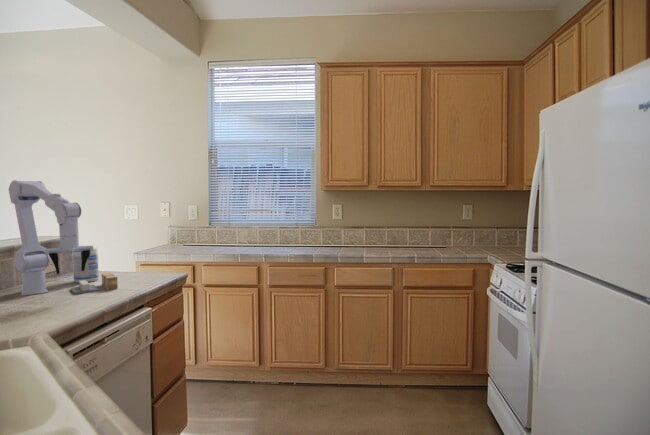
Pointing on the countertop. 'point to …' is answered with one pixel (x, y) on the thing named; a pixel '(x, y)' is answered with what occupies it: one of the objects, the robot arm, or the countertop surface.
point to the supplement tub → (86, 267)
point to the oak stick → (109, 281)
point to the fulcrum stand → (84, 288)
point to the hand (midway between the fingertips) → (70, 272)
